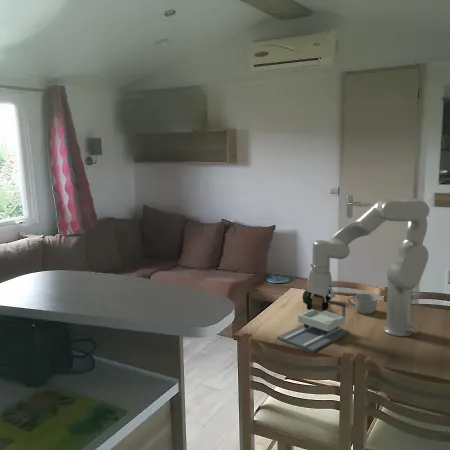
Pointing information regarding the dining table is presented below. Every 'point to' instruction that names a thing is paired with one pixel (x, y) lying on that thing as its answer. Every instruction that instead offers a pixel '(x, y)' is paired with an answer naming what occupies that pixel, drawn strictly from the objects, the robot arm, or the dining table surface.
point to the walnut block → (317, 302)
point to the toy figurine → (307, 300)
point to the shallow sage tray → (323, 318)
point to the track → (311, 337)
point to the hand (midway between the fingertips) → (319, 307)
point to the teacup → (364, 303)
